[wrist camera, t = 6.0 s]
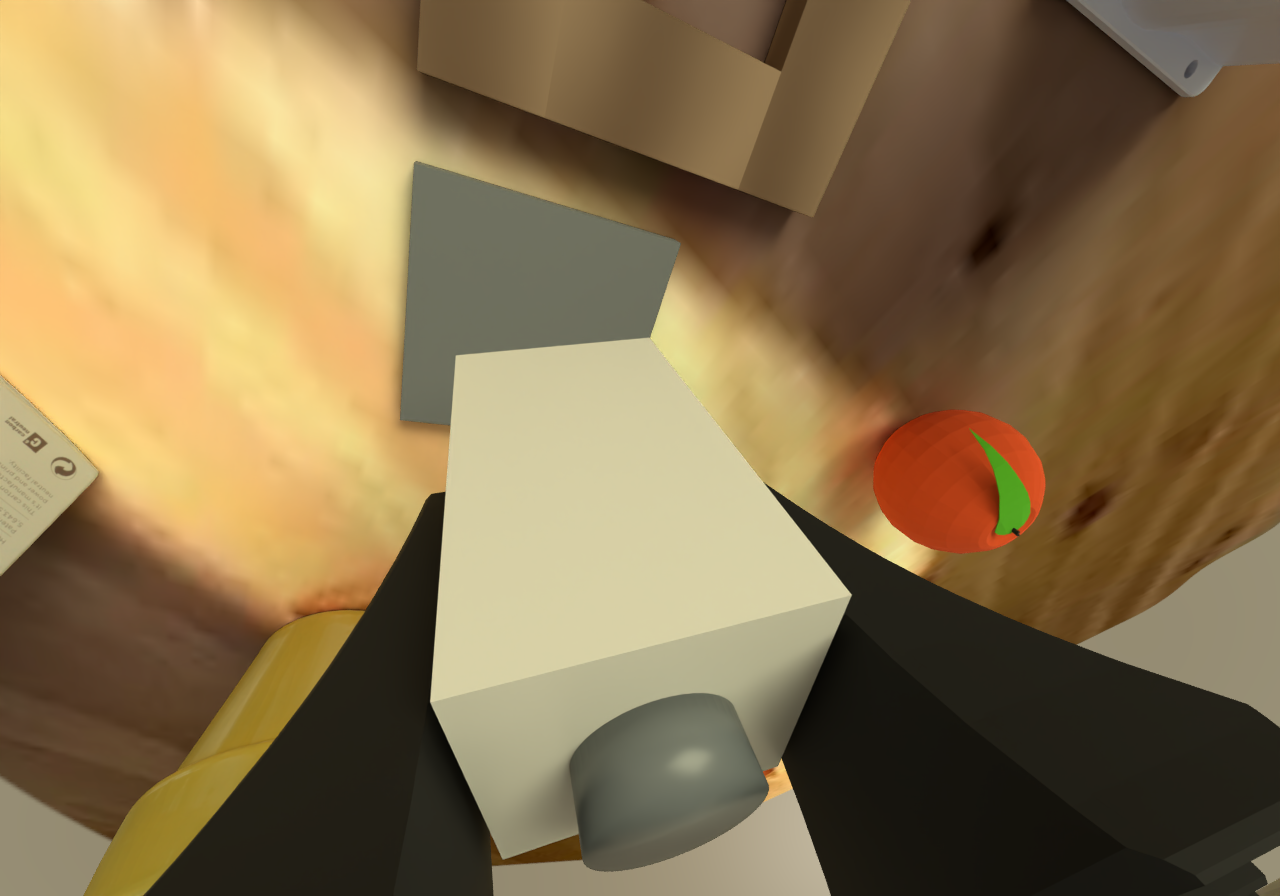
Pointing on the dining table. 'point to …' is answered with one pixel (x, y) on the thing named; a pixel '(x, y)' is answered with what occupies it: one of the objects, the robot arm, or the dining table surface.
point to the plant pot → (221, 753)
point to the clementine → (959, 481)
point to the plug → (615, 607)
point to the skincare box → (33, 474)
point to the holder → (676, 81)
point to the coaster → (515, 281)
